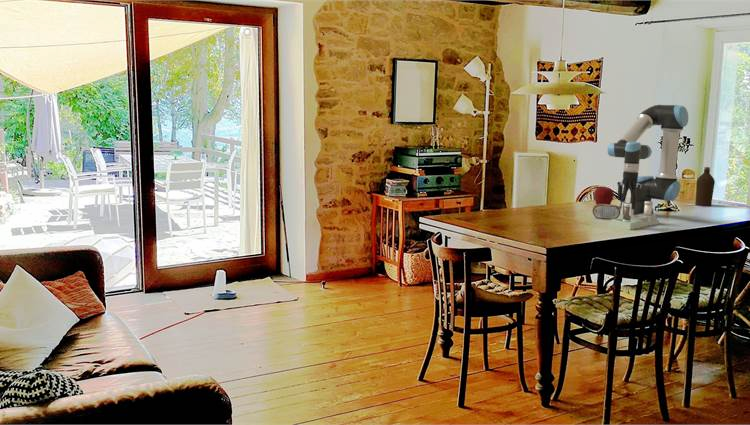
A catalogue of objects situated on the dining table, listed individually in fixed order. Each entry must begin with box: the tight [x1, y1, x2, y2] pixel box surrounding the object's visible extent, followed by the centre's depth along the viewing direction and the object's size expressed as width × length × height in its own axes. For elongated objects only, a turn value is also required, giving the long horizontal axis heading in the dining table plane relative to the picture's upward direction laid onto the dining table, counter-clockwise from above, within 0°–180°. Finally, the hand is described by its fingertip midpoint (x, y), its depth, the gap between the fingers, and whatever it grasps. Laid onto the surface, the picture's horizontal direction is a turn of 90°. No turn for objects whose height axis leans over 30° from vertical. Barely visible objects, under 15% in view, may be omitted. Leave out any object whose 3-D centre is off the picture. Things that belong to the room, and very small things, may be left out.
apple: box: [593, 186, 615, 205], centre depth 430 cm, size 12×12×13 cm
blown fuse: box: [622, 202, 631, 223], centre depth 365 cm, size 4×4×10 cm
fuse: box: [644, 200, 654, 216], centre depth 378 cm, size 4×4×10 cm
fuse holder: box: [631, 214, 660, 227], centre depth 376 cm, size 10×17×4 cm, turn 128°
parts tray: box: [609, 217, 644, 230], centre depth 366 cm, size 12×12×4 cm
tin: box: [592, 204, 621, 220], centre depth 388 cm, size 15×3×8 cm, turn 74°
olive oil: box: [695, 166, 716, 207], centre depth 444 cm, size 11×11×25 cm
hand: (627, 214), depth 365 cm, fingers closed on blown fuse, 4 cm apart
